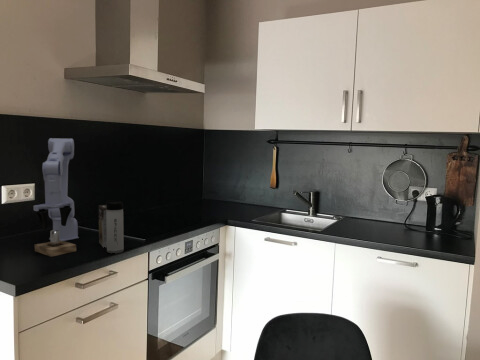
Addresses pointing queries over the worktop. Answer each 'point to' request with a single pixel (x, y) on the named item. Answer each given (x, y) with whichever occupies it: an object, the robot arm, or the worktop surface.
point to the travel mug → (114, 226)
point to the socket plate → (55, 248)
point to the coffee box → (102, 225)
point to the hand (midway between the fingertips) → (54, 227)
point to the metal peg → (55, 238)
